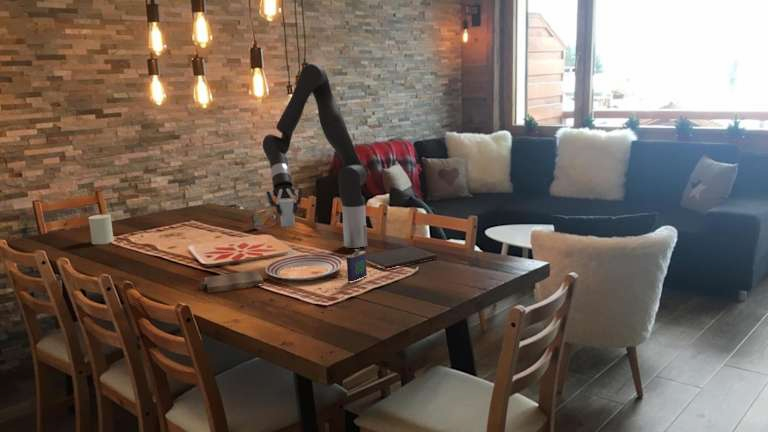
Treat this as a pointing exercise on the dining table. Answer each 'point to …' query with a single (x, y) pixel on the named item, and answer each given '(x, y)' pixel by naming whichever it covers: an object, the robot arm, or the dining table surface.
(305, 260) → the dinner plate
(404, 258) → the hardcover book
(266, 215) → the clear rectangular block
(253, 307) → the dining table surface
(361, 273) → the flask
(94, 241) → the can
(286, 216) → the stoneware cup
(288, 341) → the dining table surface
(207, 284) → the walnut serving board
